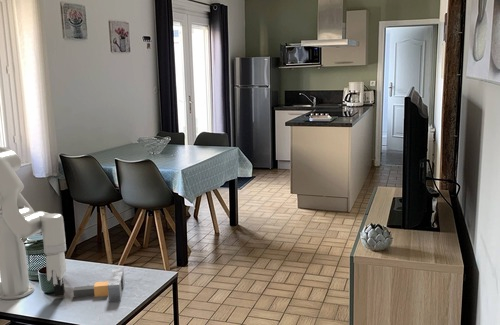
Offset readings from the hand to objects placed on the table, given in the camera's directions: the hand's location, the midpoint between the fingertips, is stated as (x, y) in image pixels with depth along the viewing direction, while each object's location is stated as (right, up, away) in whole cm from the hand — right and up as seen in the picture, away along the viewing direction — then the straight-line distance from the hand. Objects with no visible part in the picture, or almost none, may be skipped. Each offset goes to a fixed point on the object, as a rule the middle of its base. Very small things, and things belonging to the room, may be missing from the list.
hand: (59, 294), depth 186 cm
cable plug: (+11, -1, +2) cm, 12 cm away
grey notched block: (+21, 0, +3) cm, 21 cm away
